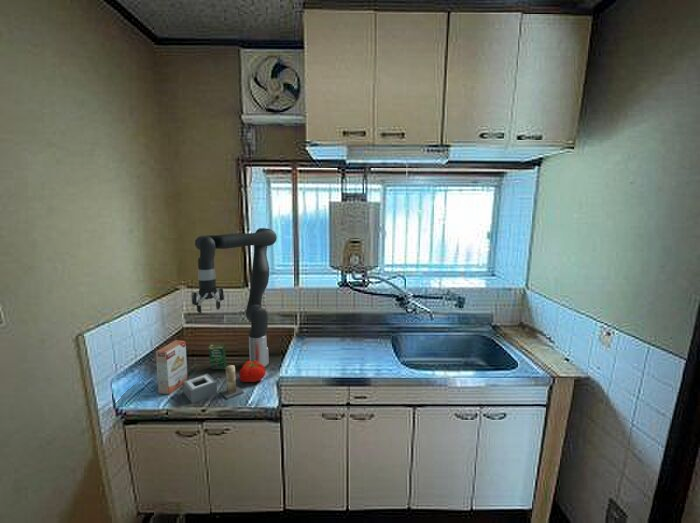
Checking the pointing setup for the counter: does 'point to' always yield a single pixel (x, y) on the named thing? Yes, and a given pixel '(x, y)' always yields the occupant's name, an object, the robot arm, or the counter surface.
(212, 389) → the box
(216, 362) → the coffee box
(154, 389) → the counter surface
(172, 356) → the cracker box
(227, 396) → the mat
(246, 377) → the tomato
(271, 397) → the counter surface
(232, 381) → the beige ridged cylinder
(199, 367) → the counter surface
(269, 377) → the counter surface
